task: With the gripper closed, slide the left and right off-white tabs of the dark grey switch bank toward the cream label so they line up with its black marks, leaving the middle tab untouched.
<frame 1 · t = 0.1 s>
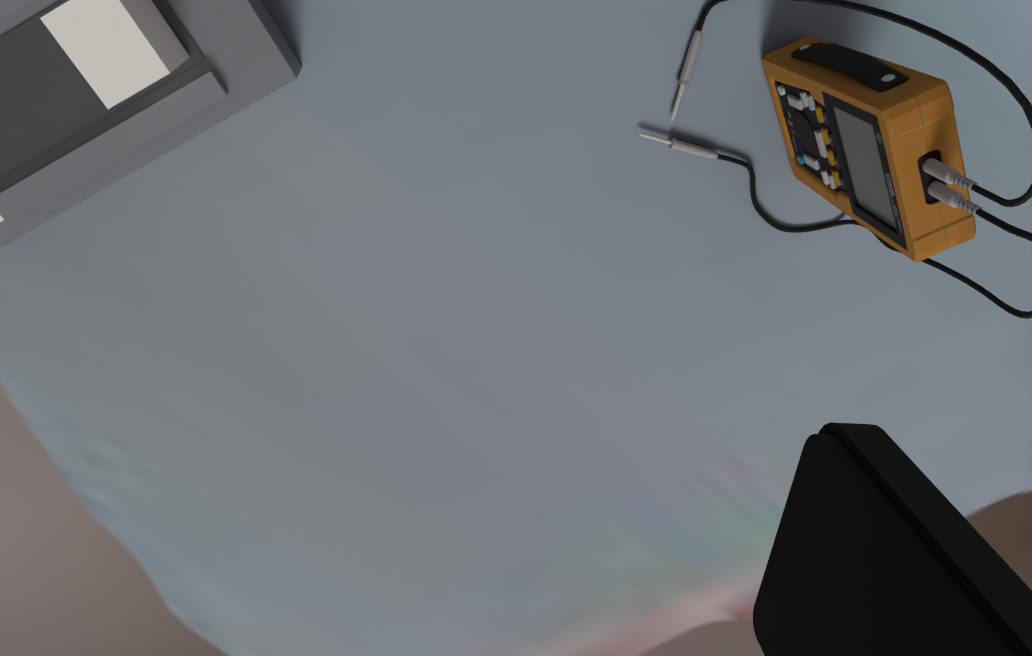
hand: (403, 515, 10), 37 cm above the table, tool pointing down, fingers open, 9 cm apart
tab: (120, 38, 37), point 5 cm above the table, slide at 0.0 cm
multimeter: (735, 136, 48), on the table
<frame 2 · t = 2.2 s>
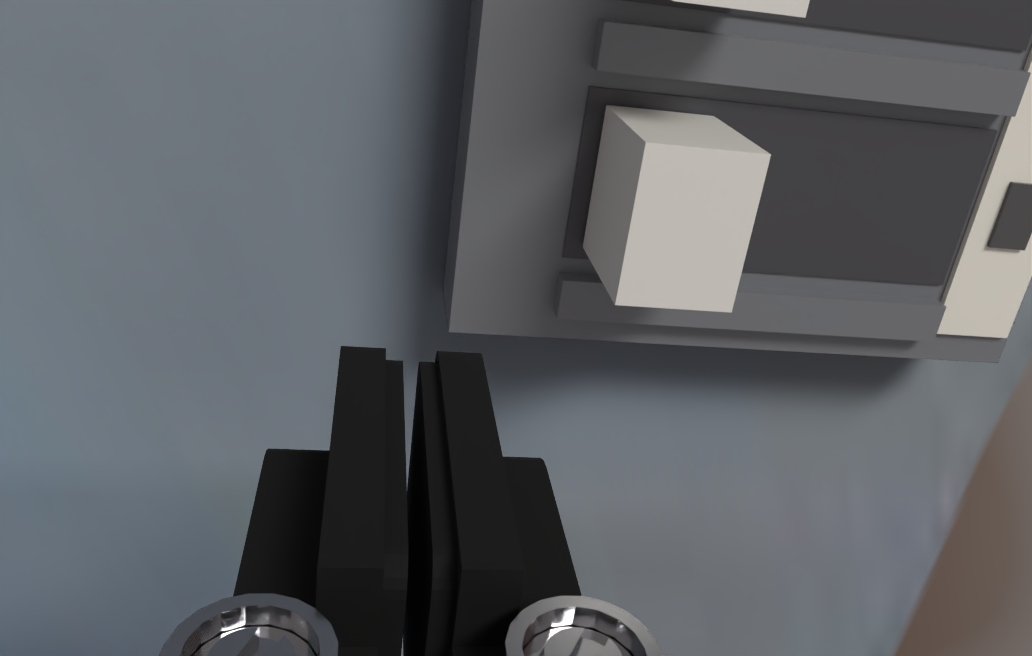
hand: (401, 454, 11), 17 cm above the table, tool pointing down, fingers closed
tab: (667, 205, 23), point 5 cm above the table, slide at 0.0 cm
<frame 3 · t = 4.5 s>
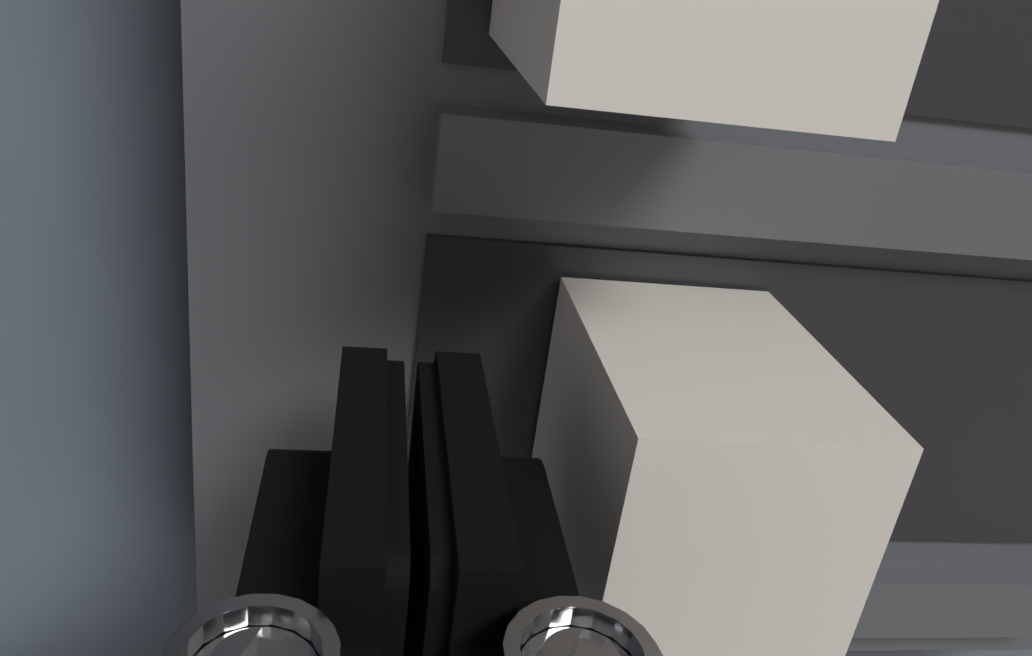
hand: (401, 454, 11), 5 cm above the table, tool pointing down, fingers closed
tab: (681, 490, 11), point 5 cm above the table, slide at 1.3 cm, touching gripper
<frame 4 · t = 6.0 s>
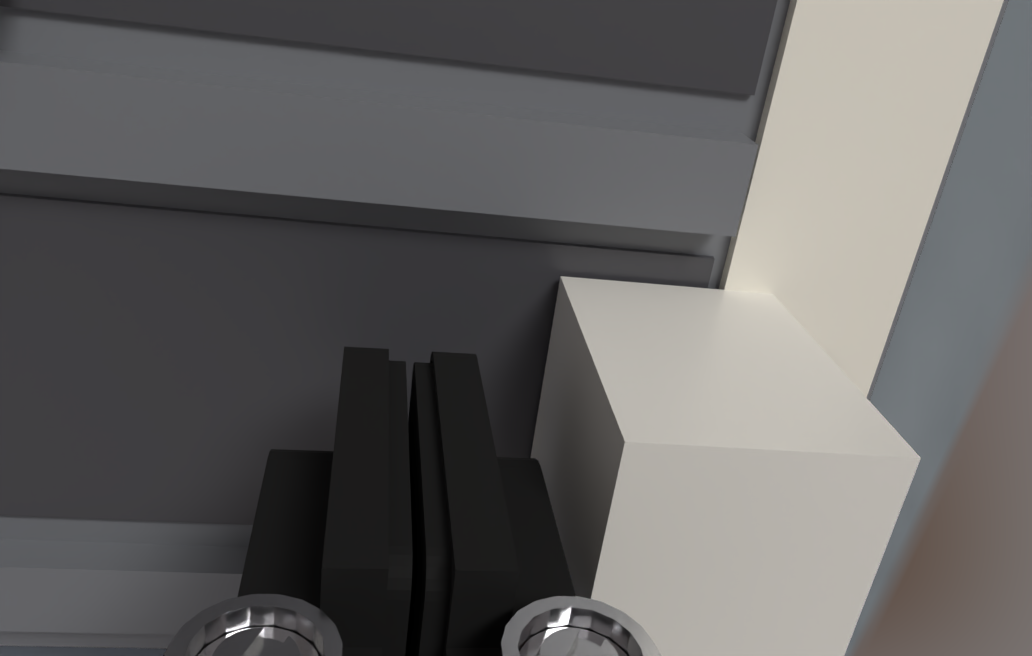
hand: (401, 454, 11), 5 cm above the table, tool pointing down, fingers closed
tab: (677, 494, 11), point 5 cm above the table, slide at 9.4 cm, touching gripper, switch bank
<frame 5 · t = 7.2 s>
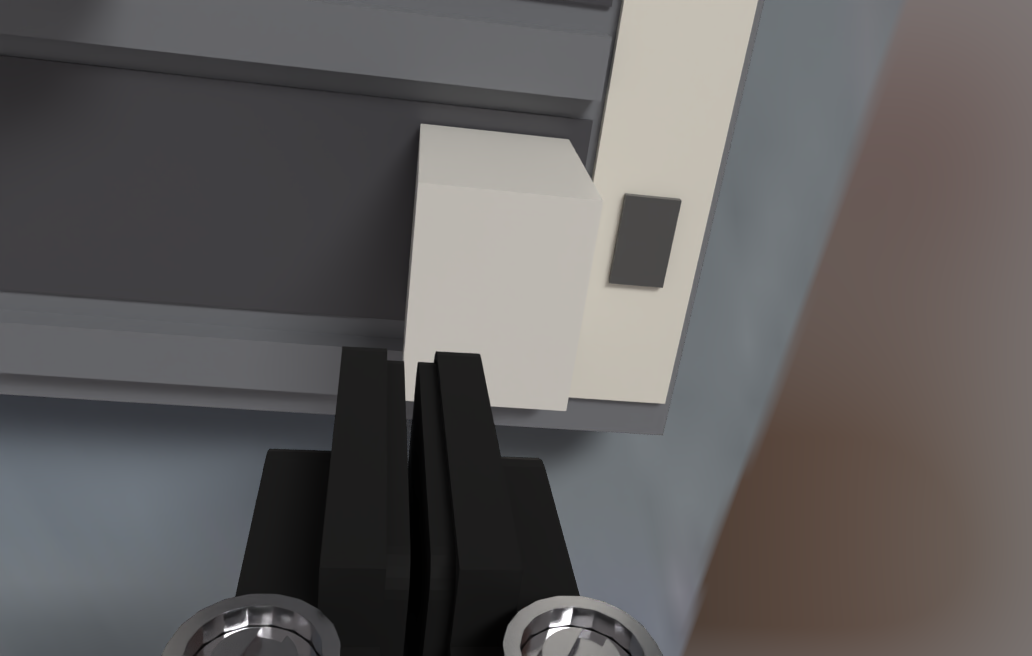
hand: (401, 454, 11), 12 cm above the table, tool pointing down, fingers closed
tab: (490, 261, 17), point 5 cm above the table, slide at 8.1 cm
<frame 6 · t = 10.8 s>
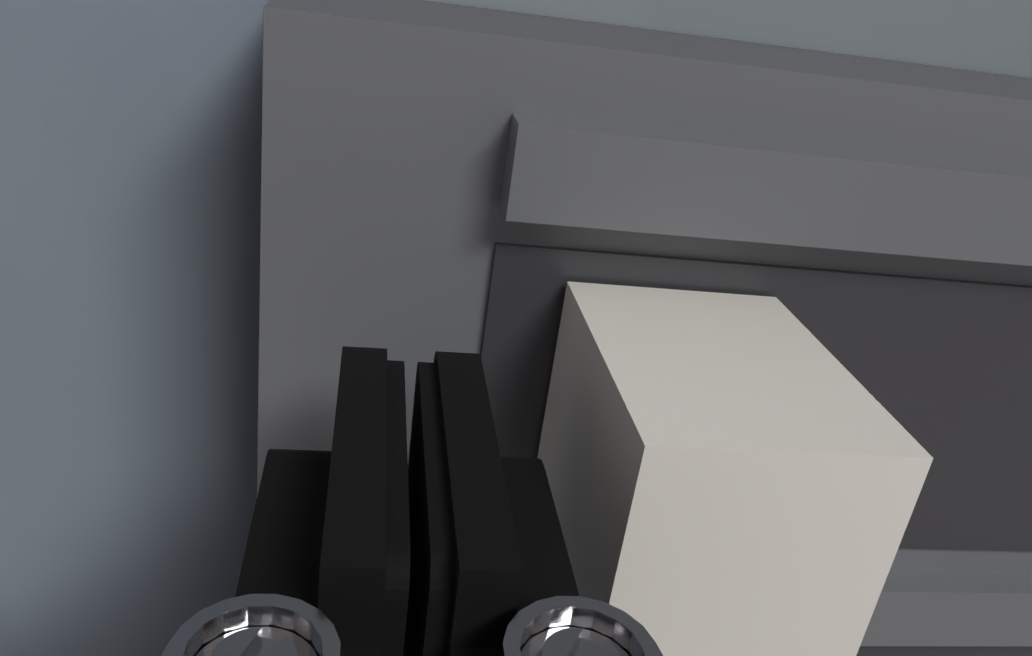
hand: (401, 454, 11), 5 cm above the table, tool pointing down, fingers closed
switch bank: (698, 621, 19), on the table
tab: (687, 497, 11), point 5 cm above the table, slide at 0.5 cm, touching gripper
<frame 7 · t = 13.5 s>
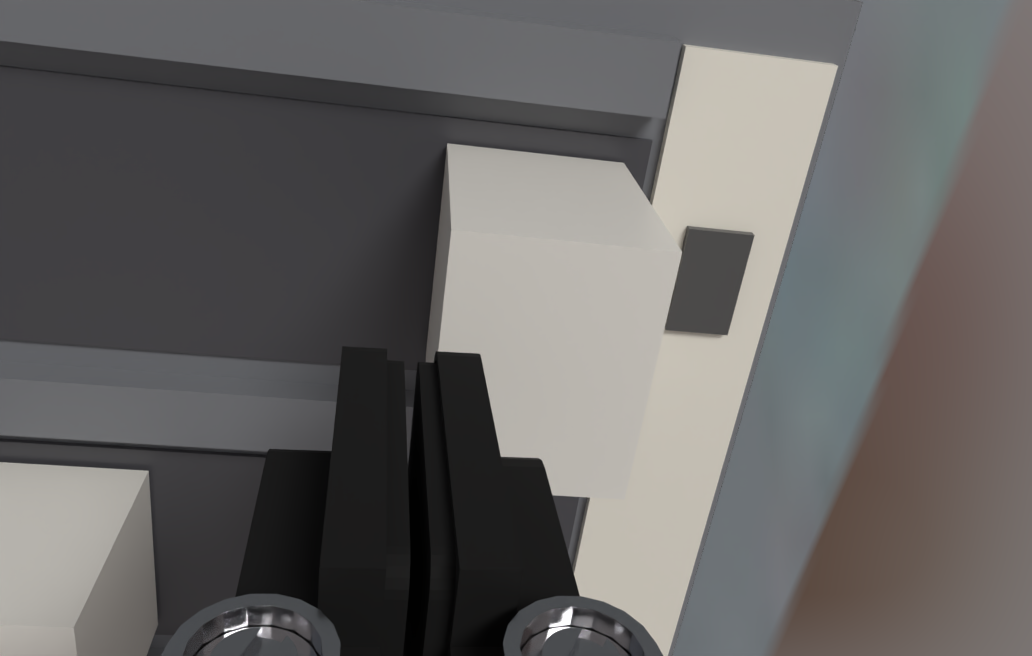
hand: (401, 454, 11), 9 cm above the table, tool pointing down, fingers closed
switch bank: (300, 465, 21), on the table
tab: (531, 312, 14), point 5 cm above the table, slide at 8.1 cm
tab middle: (35, 622, 16), point 5 cm above the table, slide at 0.0 cm
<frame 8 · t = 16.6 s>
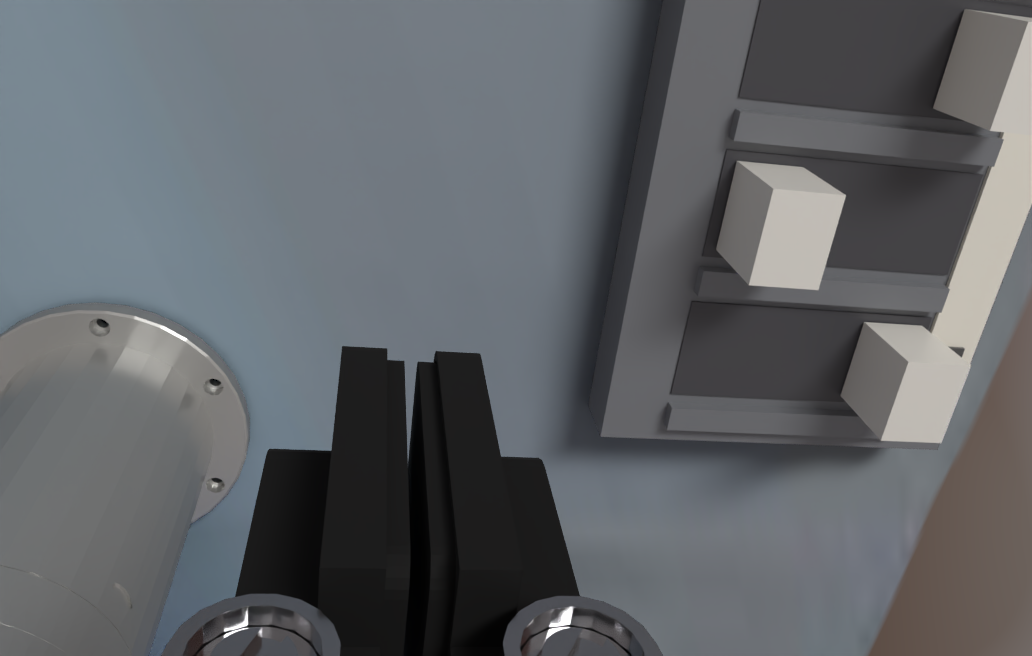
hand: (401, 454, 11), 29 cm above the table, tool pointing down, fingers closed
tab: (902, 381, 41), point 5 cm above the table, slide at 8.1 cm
switch bank: (813, 194, 42), on the table
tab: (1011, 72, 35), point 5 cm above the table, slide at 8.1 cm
tab middle: (776, 224, 37), point 5 cm above the table, slide at 0.0 cm
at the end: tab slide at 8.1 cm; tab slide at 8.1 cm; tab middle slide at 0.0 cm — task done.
